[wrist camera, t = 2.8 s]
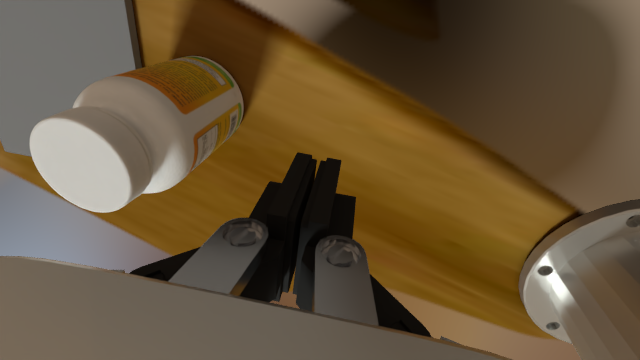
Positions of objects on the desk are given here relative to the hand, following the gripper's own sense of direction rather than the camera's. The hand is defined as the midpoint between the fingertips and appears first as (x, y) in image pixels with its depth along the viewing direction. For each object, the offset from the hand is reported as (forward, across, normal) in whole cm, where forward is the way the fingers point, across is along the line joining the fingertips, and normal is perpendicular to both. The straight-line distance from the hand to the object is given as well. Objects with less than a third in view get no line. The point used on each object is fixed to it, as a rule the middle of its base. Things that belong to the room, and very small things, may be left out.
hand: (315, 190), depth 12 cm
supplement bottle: (+9, +8, 0) cm, 12 cm away
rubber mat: (+9, +18, 0) cm, 20 cm away
